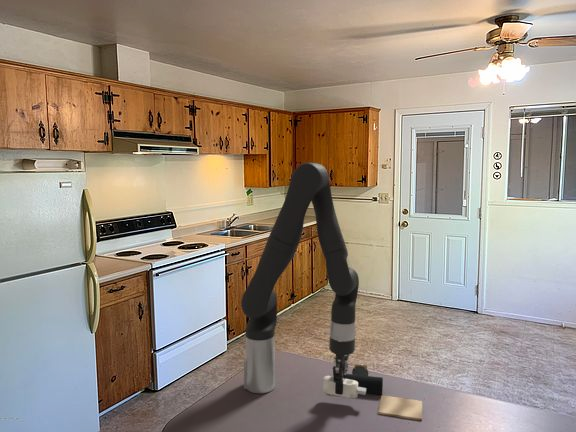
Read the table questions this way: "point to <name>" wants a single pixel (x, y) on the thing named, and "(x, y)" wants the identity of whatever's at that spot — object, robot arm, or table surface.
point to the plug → (348, 387)
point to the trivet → (400, 407)
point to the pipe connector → (366, 379)
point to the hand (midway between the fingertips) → (340, 390)
